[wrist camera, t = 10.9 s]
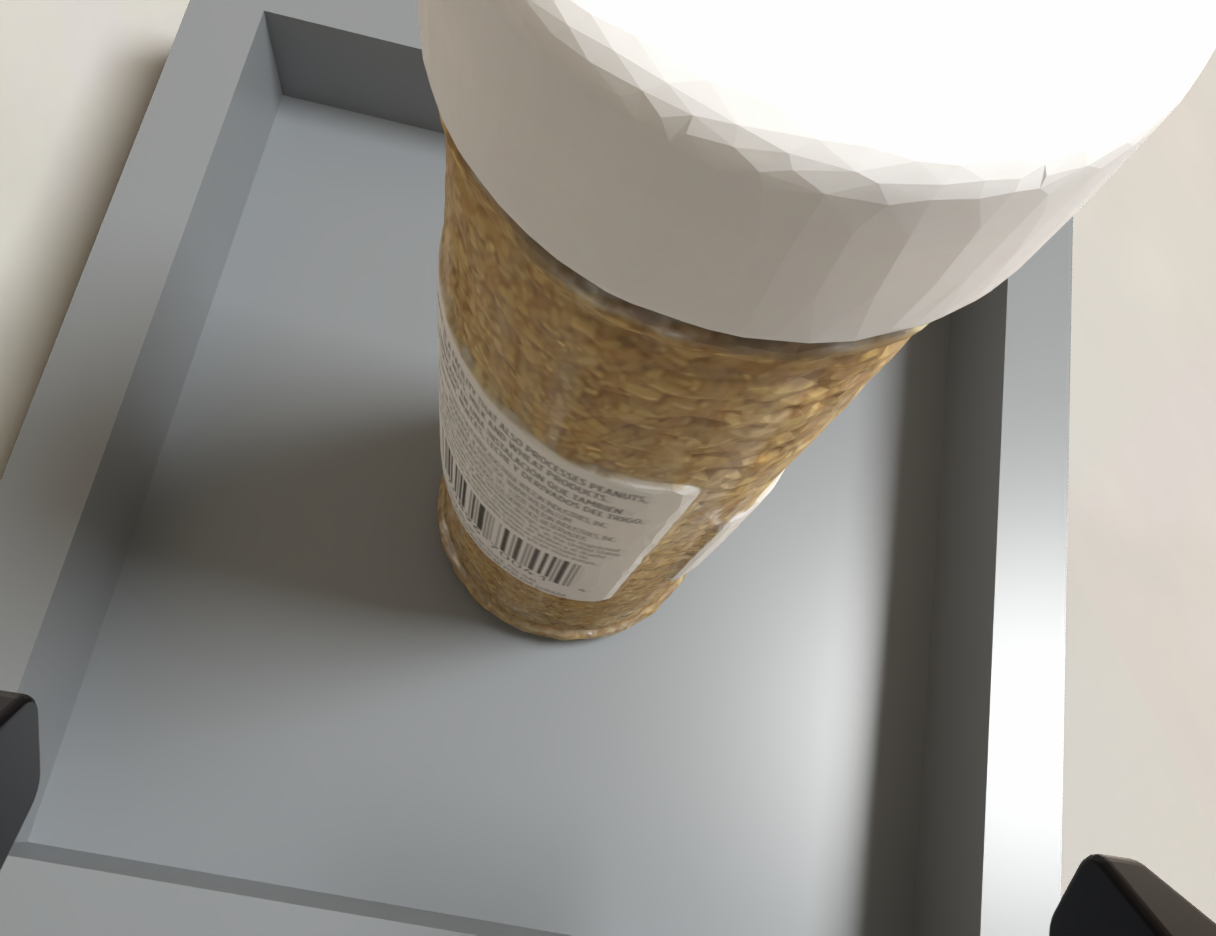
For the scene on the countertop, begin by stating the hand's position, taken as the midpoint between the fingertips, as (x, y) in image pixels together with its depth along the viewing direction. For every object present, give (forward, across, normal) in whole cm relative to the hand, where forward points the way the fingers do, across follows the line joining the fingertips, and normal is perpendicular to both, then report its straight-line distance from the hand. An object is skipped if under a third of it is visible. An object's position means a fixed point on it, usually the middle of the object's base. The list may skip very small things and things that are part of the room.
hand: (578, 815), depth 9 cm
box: (+10, 0, +2) cm, 10 cm away
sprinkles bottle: (+9, 0, +2) cm, 10 cm away
